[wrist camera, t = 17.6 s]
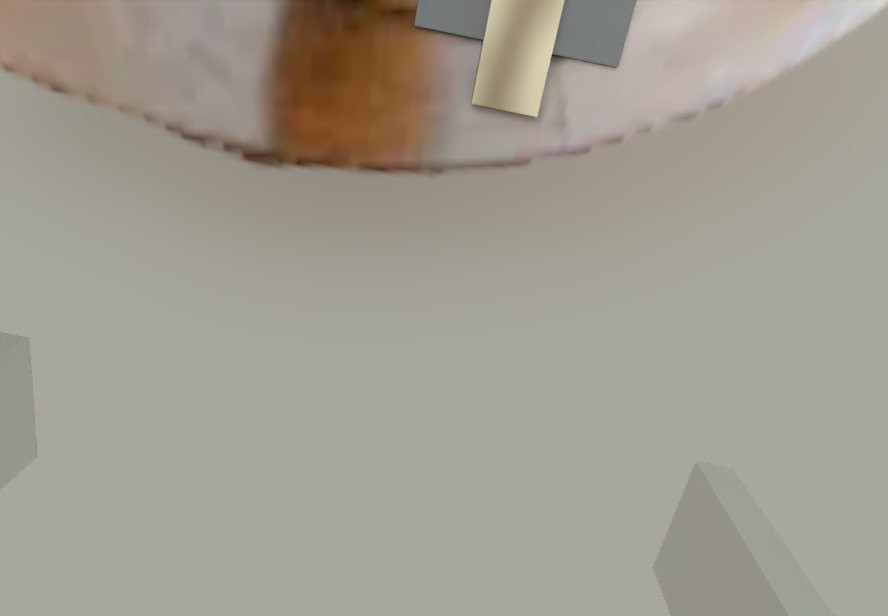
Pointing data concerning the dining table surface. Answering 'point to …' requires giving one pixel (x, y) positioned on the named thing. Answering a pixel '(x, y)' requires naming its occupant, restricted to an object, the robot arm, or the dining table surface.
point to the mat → (578, 36)
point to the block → (516, 54)
